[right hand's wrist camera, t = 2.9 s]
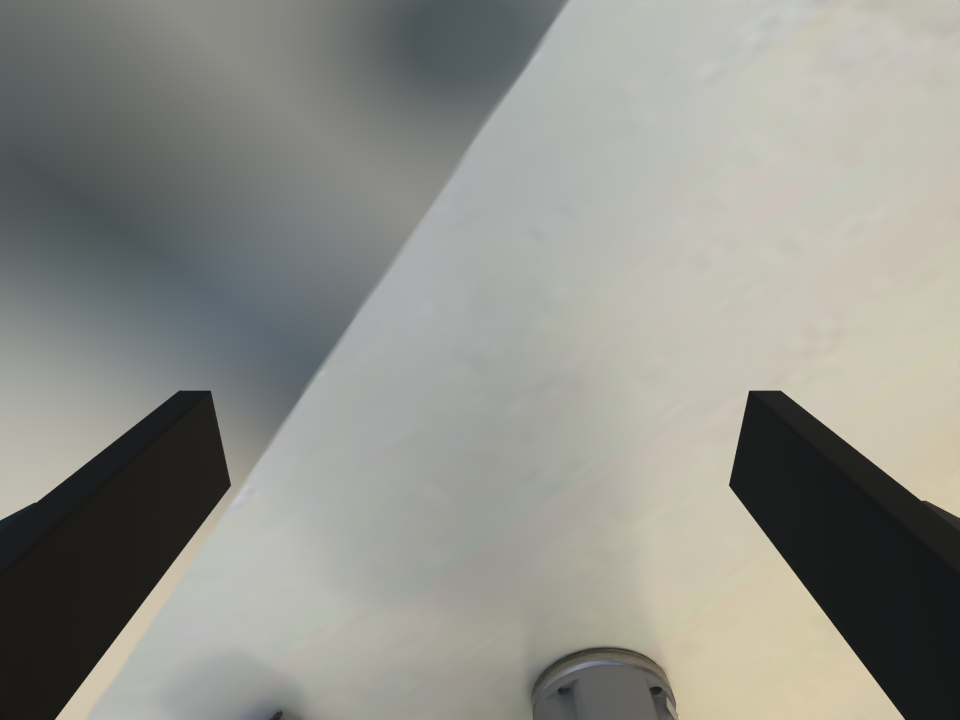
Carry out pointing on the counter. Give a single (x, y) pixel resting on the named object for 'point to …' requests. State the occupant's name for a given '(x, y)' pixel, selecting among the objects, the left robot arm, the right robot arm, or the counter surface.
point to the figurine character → (277, 716)
